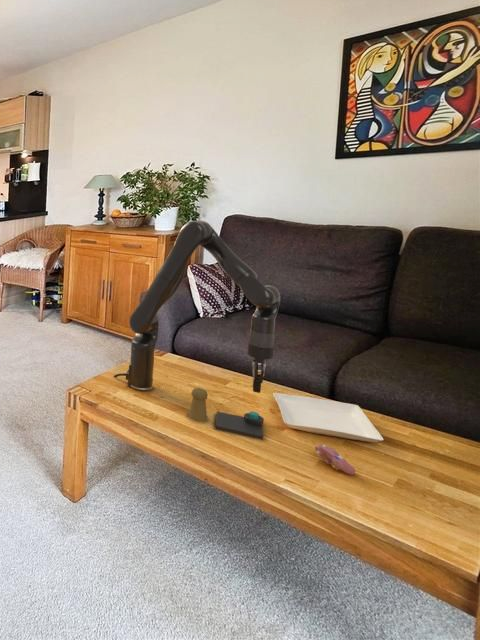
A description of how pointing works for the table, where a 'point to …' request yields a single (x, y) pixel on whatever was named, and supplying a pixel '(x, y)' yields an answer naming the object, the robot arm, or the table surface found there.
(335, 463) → the pink tapered lump
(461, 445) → the table surface
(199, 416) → the cork
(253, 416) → the button
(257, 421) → the scale
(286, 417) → the square plate
